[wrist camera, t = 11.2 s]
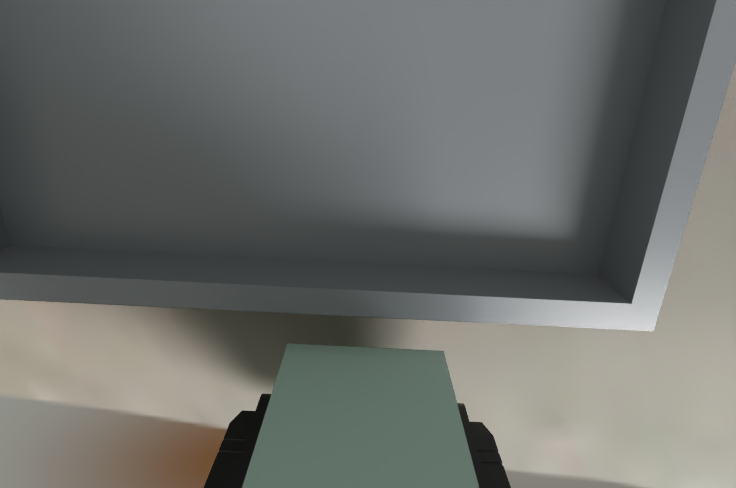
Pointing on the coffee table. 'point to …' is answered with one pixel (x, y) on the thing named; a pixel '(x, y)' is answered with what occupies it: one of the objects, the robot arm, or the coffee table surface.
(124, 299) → the gray tray
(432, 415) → the sage block
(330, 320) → the coffee table surface
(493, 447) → the robot arm
